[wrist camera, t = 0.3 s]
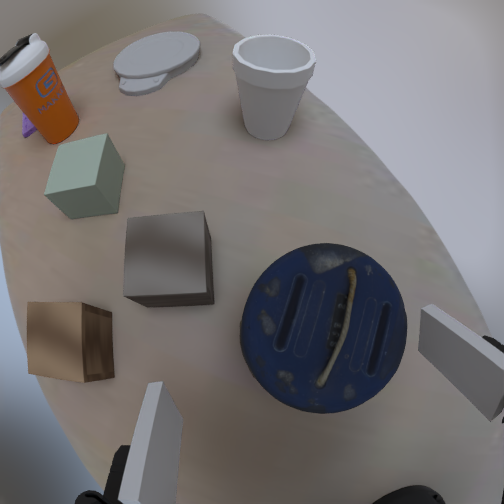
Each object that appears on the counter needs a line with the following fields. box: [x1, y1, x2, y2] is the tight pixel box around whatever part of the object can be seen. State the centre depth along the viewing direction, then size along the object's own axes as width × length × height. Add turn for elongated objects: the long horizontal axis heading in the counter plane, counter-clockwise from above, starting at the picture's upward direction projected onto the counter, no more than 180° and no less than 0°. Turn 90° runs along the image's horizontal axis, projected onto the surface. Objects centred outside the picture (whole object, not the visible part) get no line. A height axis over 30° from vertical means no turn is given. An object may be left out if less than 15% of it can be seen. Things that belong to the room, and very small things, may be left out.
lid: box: [114, 32, 200, 96], centre depth 43 cm, size 17×20×3 cm
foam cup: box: [233, 35, 316, 140], centre depth 32 cm, size 10×9×13 cm
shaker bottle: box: [0, 33, 79, 144], centre depth 29 cm, size 9×9×20 cm
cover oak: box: [123, 211, 214, 307], centre depth 28 cm, size 8×8×7 cm
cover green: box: [44, 134, 125, 219], centre depth 31 cm, size 8×8×7 cm
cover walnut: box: [27, 302, 115, 383], centre depth 25 cm, size 8×8×7 cm
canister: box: [240, 243, 407, 414], centre depth 21 cm, size 10×10×18 cm
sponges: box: [22, 113, 37, 137], centre depth 40 cm, size 7×13×2 cm, turn 32°
